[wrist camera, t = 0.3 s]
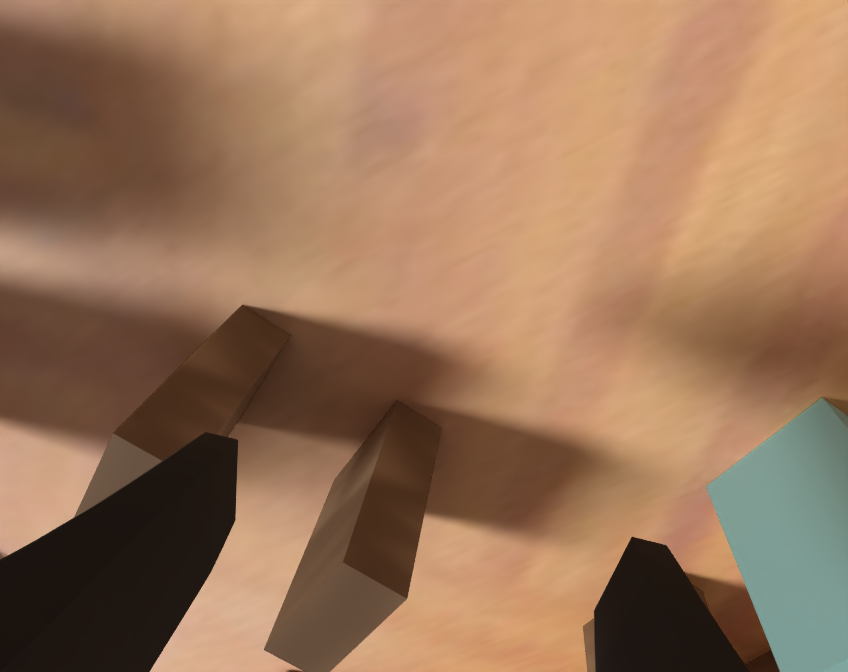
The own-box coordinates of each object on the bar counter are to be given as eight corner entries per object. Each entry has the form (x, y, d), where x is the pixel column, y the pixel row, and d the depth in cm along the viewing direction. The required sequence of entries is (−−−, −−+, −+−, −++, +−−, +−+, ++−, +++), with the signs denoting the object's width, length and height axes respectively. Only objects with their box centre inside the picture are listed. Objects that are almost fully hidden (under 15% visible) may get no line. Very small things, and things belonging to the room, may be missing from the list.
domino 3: (866, 428, 19) (1042, 634, 13) (746, 513, 22) (844, 724, 15) (821, 397, 19) (979, 591, 12) (706, 486, 21) (787, 689, 15)
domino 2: (441, 428, 22) (407, 599, 15) (375, 503, 24) (321, 679, 18) (397, 400, 22) (342, 562, 15) (334, 479, 24) (263, 649, 17)
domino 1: (290, 334, 21) (186, 474, 14) (237, 423, 23) (126, 577, 17) (242, 304, 21) (112, 433, 14) (192, 396, 23) (61, 544, 16)
